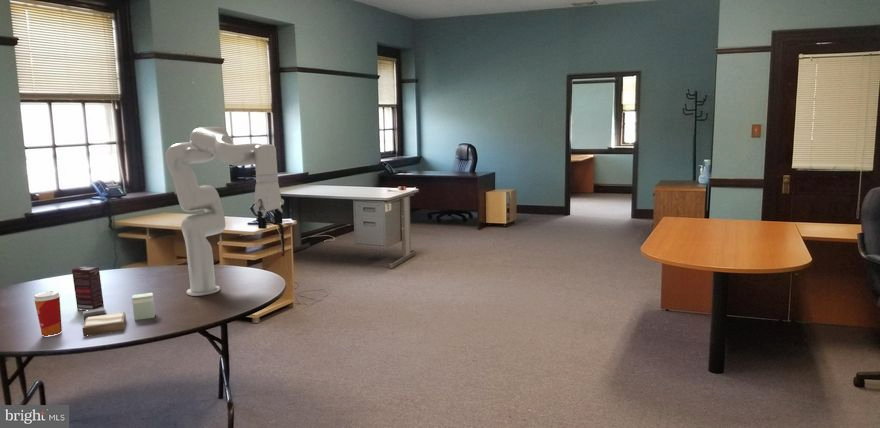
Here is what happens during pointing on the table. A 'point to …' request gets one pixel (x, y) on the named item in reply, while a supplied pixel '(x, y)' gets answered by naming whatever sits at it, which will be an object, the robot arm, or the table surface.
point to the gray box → (93, 313)
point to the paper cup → (49, 312)
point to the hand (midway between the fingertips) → (270, 225)
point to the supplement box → (88, 288)
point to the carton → (143, 306)
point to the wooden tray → (104, 324)
